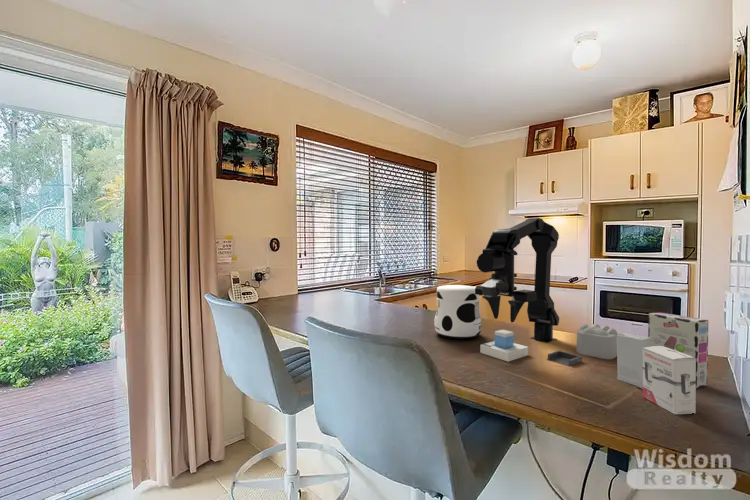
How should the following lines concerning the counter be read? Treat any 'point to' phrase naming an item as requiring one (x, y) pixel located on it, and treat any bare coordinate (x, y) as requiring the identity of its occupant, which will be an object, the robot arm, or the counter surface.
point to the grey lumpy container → (597, 341)
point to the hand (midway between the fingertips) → (504, 320)
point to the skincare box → (631, 358)
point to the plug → (504, 339)
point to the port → (504, 351)
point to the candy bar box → (682, 338)
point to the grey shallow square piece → (564, 358)
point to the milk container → (457, 312)
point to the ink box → (669, 379)
